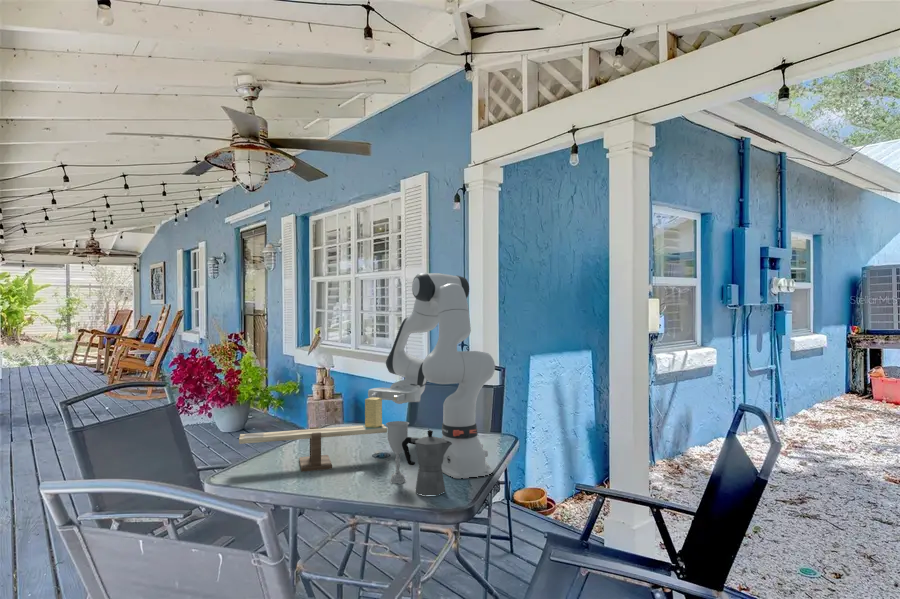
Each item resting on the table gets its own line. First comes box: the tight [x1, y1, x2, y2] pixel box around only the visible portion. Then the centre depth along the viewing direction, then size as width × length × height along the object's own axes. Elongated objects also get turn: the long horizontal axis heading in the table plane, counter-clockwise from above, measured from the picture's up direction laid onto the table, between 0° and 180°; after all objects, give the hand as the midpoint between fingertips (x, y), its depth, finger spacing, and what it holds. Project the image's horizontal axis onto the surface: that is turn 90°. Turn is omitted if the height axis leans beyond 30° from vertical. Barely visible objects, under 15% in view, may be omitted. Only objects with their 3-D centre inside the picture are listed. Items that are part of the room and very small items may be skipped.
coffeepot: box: [402, 429, 452, 495], centre depth 159 cm, size 15×9×18 cm, turn 75°
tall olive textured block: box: [364, 397, 383, 428], centre depth 193 cm, size 4×4×10 cm
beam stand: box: [298, 426, 333, 473], centre depth 187 cm, size 14×10×12 cm
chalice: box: [385, 420, 410, 484], centre depth 168 cm, size 7×7×18 cm
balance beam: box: [238, 423, 388, 445], centre depth 187 cm, size 7×49×2 cm, turn 108°
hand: (384, 397), depth 201 cm, fingers open, 8 cm apart
